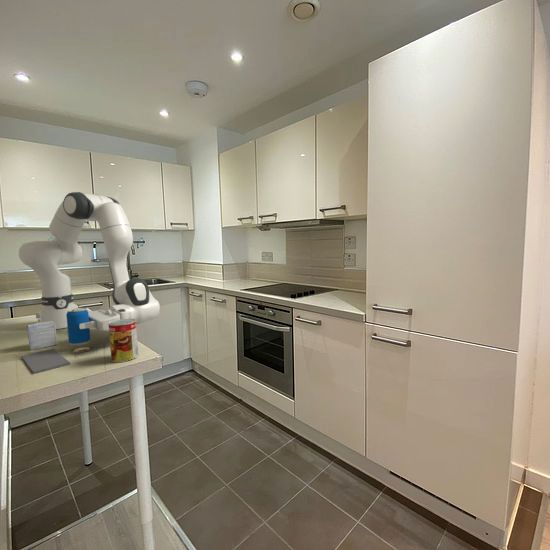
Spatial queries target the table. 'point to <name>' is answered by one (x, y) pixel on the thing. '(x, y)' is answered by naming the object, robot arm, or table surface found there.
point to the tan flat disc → (81, 349)
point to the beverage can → (74, 332)
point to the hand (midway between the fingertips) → (75, 324)
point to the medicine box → (41, 335)
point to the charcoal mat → (44, 360)
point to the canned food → (123, 339)
